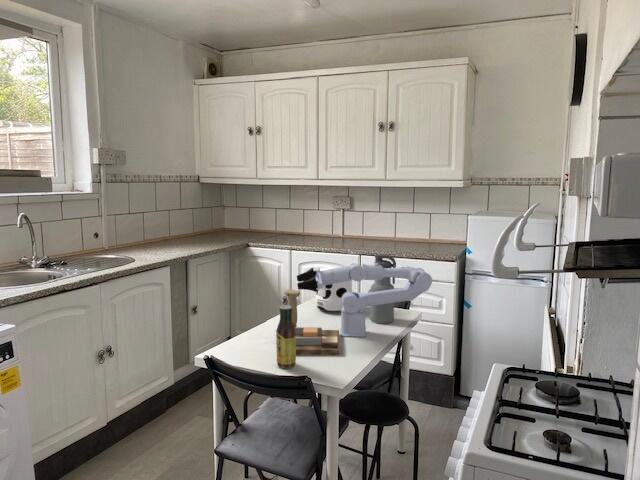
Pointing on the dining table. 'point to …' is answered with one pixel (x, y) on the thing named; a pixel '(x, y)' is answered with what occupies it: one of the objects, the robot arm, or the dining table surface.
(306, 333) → the block
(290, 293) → the handle
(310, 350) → the board
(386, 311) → the water bottle
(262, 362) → the dining table surface
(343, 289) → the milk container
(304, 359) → the dining table surface
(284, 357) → the sauce bottle
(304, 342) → the gray rectangular frame
